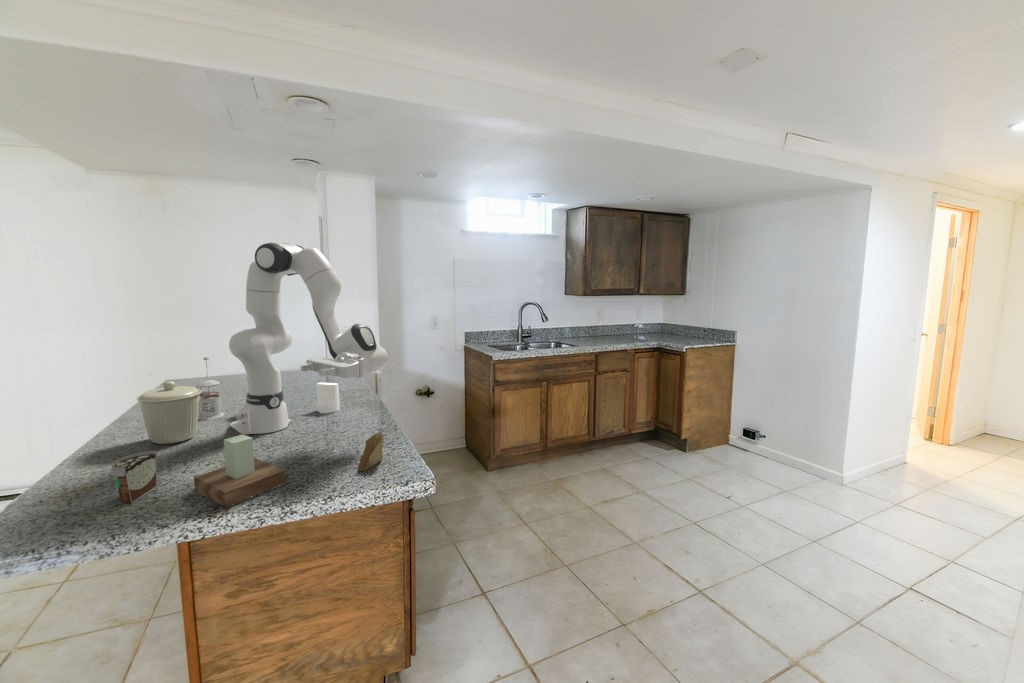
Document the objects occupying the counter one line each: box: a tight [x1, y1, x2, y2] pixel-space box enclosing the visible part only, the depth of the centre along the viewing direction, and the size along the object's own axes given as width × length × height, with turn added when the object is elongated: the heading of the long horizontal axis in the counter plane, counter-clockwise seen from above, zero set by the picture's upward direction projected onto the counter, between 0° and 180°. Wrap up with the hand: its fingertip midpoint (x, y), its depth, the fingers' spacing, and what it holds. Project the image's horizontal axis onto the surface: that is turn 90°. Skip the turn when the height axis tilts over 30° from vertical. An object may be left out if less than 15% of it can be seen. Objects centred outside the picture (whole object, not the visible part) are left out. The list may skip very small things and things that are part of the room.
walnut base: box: [193, 457, 287, 508], centre depth 124 cm, size 16×16×4 cm
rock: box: [357, 432, 384, 472], centre depth 141 cm, size 11×9×10 cm
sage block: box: [223, 434, 255, 479], centre depth 123 cm, size 5×5×10 cm
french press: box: [195, 356, 225, 421], centre depth 185 cm, size 10×12×25 cm
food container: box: [110, 450, 159, 505], centre depth 118 cm, size 12×6×10 cm, turn 5°
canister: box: [136, 380, 202, 445], centre depth 158 cm, size 18×18×21 cm
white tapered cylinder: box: [316, 382, 340, 414], centre depth 197 cm, size 9×9×12 cm
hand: (311, 370), depth 142 cm, fingers open, 8 cm apart
